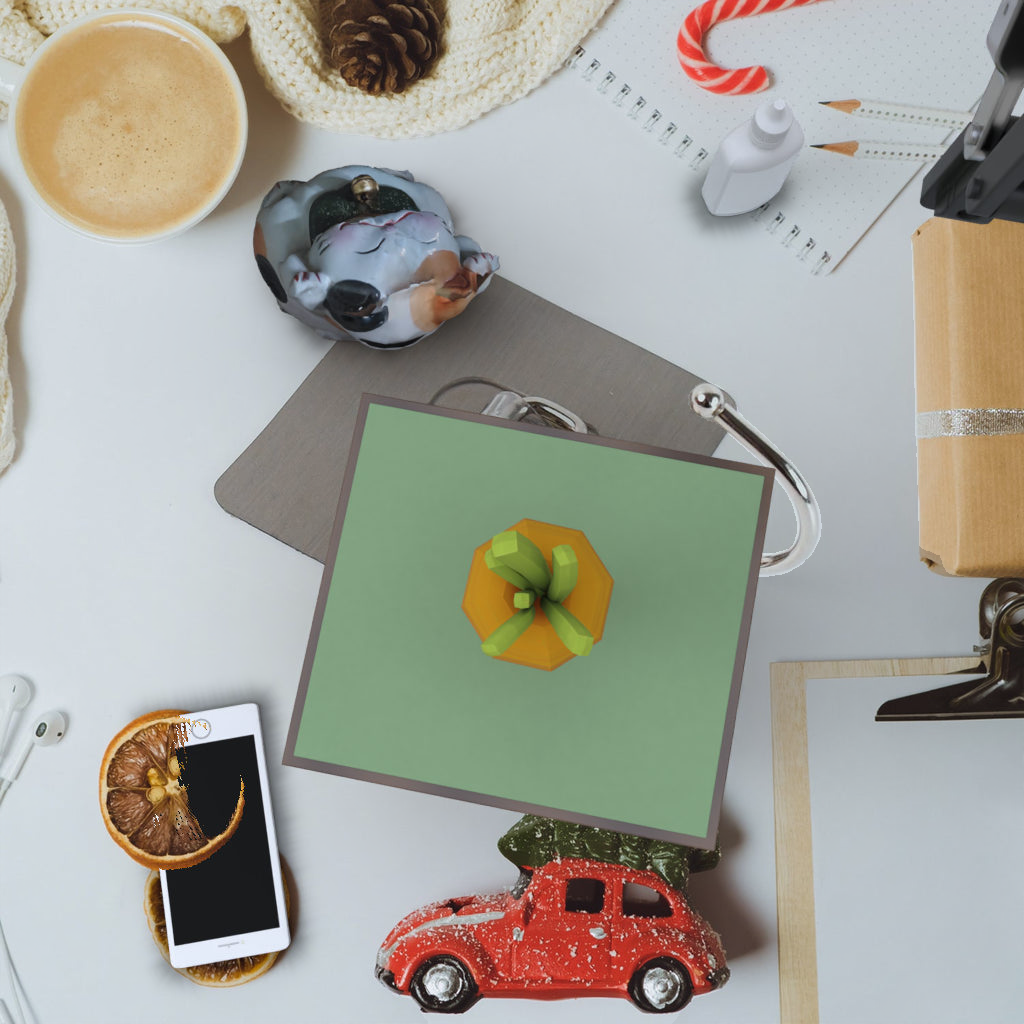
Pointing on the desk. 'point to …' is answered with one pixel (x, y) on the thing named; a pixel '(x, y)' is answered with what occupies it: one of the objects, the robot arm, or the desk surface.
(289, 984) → the desk surface
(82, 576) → the desk surface
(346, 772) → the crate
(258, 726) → the cell phone
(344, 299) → the lucky cat figurine
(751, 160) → the eye dropper bottle
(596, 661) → the cloth
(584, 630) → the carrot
